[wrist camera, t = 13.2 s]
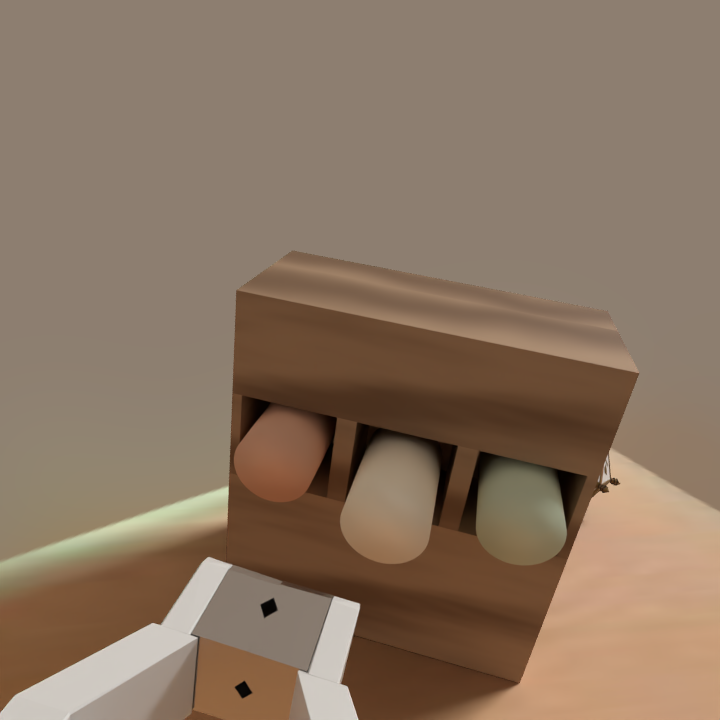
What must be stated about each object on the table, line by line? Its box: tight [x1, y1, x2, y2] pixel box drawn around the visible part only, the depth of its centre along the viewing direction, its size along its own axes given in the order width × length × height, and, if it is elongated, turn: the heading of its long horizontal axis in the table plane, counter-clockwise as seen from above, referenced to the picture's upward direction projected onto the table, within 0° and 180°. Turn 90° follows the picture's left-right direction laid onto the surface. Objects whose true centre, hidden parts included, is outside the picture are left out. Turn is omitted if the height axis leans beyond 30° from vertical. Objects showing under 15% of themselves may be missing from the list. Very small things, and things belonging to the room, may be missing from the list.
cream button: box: [340, 428, 442, 564], centre depth 28 cm, size 6×4×4 cm, turn 167°
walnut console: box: [226, 251, 639, 683], centre depth 33 cm, size 8×18×20 cm, turn 77°
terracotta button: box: [234, 402, 337, 502], centre depth 31 cm, size 6×4×4 cm, turn 167°
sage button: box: [476, 451, 567, 565], centre depth 29 cm, size 6×4×4 cm, turn 167°
